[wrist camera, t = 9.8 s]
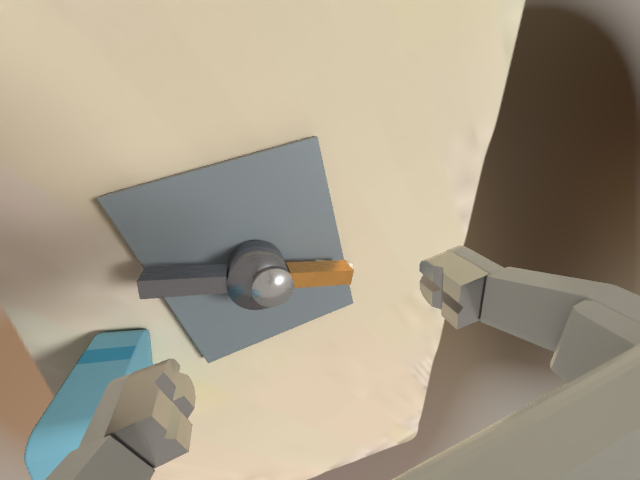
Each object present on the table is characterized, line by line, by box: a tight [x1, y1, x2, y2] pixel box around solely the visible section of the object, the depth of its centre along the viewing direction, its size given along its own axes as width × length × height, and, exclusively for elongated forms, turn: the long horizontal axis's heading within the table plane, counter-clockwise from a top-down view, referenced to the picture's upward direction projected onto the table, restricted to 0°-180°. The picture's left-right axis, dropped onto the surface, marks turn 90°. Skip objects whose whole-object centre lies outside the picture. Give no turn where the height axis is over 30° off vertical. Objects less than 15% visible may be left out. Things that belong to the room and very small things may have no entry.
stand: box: [97, 136, 353, 363], centre depth 28 cm, size 22×21×2 cm
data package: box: [24, 329, 153, 480], centre depth 25 cm, size 12×4×12 cm, turn 171°
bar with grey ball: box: [137, 240, 354, 310], centre depth 26 cm, size 20×6×5 cm, turn 83°
